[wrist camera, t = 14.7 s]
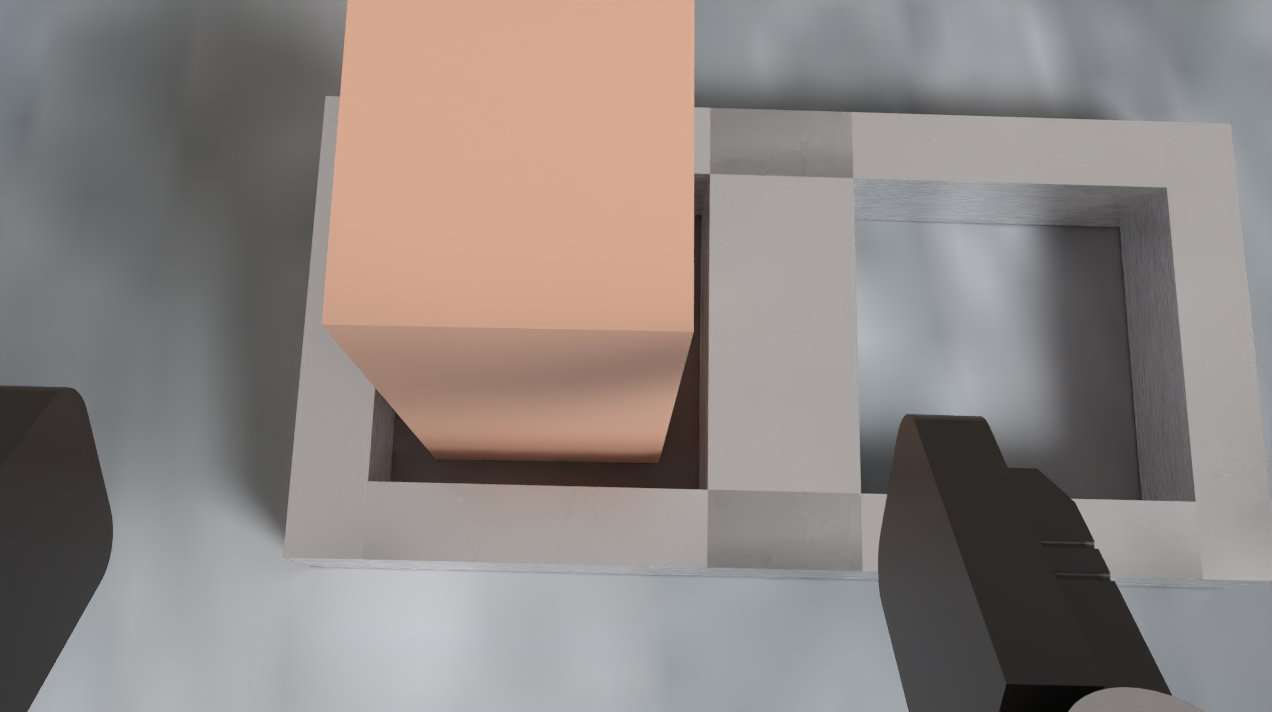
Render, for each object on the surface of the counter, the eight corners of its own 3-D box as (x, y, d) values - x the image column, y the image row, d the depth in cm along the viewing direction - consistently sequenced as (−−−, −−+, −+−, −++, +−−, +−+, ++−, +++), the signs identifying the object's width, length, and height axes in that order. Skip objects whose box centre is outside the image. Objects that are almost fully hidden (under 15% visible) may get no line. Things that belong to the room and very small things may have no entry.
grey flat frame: (1178, 168, 23) (1230, 123, 21) (1218, 588, 21) (1279, 580, 20) (349, 143, 23) (325, 95, 21) (312, 566, 21) (283, 557, 19)
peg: (447, 248, 23) (348, -10, 14) (660, 252, 23) (694, -1, 14) (436, 459, 22) (321, 325, 13) (658, 463, 22) (694, 331, 13)
